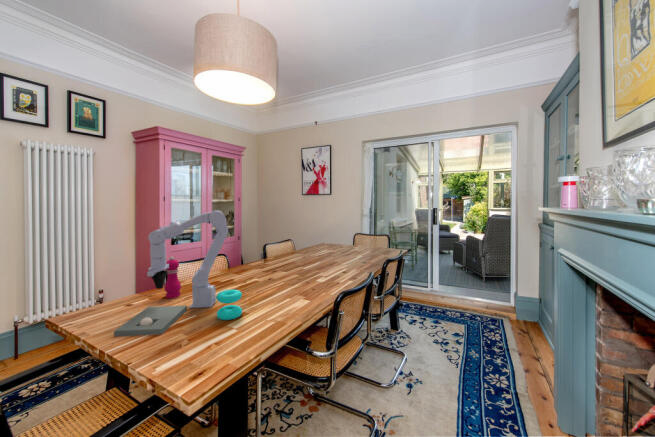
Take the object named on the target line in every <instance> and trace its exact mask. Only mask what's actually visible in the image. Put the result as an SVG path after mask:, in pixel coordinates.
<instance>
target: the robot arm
mask: <svg viewBox="0 0 655 437" xmlns="http://www.w3.org/2000/svg"><path fill="white" fill-rule="evenodd" d="M169 223H170V224H168V225H165V226H160V227H158V229H156V230H153V231H152V232H149V234H148V238H147V239H148V241H149V243H150V244H149V245H150V247H149V251H150V252H149V254H150V267H148V268H147V270H148V271H147V276H146V277H151V280H152V281H153V282H154V285H155V289H156V290H158V289H159V290H161V289H164V286H165V285H164V284H165V279H166V277H167V276H168V271H167V268H169V264H166V262H167V249H166V248H167V247H166V240H171V239H173V238H175V237H178V236H179V235H183V233H184V231H185V230H186V229H190V228H192V227H194V226H197V225H199V224H201V223H202V224H209V223H210V224H211V225H212V226H213V227H214V229H215V232H216V234H215V237H214V238H213V240H212V243H211V244H210V247H209V249H208V250H207V252H206V255H205V256H204V259H203V260H202V263H201V264H200V267H199V268H198V269H197V270H196V271H195V272H194V273H193V274H194V275H193V277H192V279H191V282H192V285H191V290H192V291H191V292H192V294H191V295H192V304H190V305H189V308H190V309H195V308H212V307H213V305H214V304H215V303H216V302H217V299H216V296H217V293H216V286H215V285H214V284H210V282H209V281H208V279H209V276H210V272H211V269H212V267H213V265H214V264H215V261H216V259H217V258H218V255H219V253H220V251H221V249H222V247H223V245H224V242H225V240H226V238H227V236H228V234H229V229H228V223H227V218H226V215H225V214H224V213H223V211H221V210H218V209H217V210H213V211H208V212H205V213H202V214H198V215H197V216H194V217H192V218H190V219H188V220H185V221H184V222H183V221H182V222H178V221H171V222H169Z"/></svg>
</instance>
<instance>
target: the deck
mask: <svg viewBox="0 0 655 437" xmlns="http://www.w3.org/2000/svg"><path fill="white" fill-rule="evenodd" d="M187 311H188V305H166V306H147V307H145V308H144V309H143V310H141V311H140V312H139V313H137V314H136V315H135V316H133V317H132V318H130V319H129V320H127V321H126V322H124V323H122V324H121V325H119V327H117V328H116V329H114V330H113V336H114V337H130V336H152V335H153V336H157V335H163V334H164V333H165V332H166V331H168V329H169V328H170V327H171V326H172V325H174V324H175V322H176V321H178V319H180V318H181V316H183V315H184V314H185V313H186V312H187ZM144 318H151V319H152V321H153V324H152V325H151V326H140V322H141V320H142V319H144Z"/></svg>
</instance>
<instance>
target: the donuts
mask: <svg viewBox="0 0 655 437" xmlns="http://www.w3.org/2000/svg"><path fill="white" fill-rule="evenodd" d="M242 296H243V293H242V291H240V290H239V289H232V288H231V289H225V290H221V291H219V292H218V293H216V302H219V303H221V304H227V305H225V306H222V307H220V308H219V309H218V310H216V311H217V312H216V317H217V318H218V319H220V320H223V321H229V320H235V319H237V318H239V317H240V316H241V315H242V314H243V308H242V307H241V306H239V305H236V304H233V303H236V302H237V301H239V300H240V299H241V298H242Z"/></svg>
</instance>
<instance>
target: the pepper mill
mask: <svg viewBox="0 0 655 437" xmlns="http://www.w3.org/2000/svg"><path fill="white" fill-rule="evenodd" d="M166 264H169V268H167V269H166V271H168V273H167V279H166V283H164V284H165V285H164V291H165V292H166V293H165V298H167V299H175V298H178V297H180V296H181V291H180V290H181V289H182V284H181V281H180V280H179V277H178V272H179V269H178V268H179V266H180V263H179V260H176V259H175V258H174V256H170V257H169V260H166Z"/></svg>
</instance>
